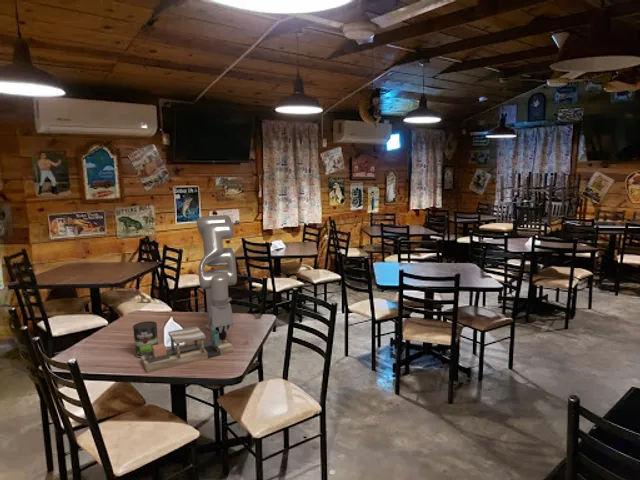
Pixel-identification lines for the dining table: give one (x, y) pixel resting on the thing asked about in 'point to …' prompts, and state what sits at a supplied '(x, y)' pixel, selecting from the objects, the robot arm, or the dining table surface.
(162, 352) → the block
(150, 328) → the coffee can
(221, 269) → the robot arm
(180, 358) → the tunnel
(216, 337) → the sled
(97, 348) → the dining table surface
